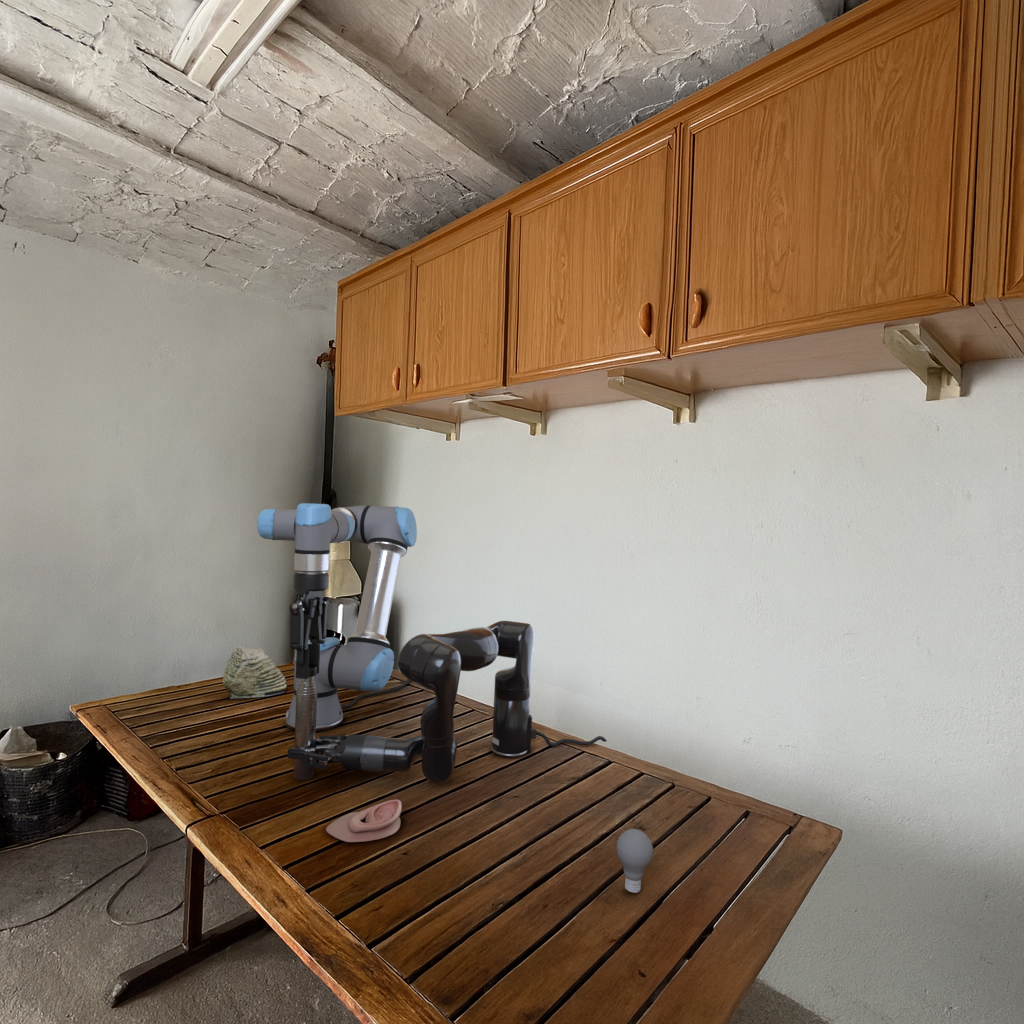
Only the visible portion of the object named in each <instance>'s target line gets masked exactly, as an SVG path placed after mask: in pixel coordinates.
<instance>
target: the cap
mask: <svg viewBox="0 0 1024 1024" xmlns="http://www.w3.org/2000/svg"><path fill="white" fill-rule="evenodd" d="M316 675H317V665H314V664H309V676H308V677H313V676H316Z"/></svg>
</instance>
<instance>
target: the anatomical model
mask: <svg viewBox="0 0 1024 1024" xmlns="http://www.w3.org/2000/svg"><path fill="white" fill-rule="evenodd" d="M402 808H403V804H402V802H401V800H399V799H391V800H387V801H383V802H380V803H377V804H374V805H372V806H370V807H367V808H365V809H362V810H360V811H353V812H350V813H347V814H344V815H342V816H340V817H338V818H337V819H335V820H333V821H332V822H330V823H329V825H327V826H326V828H325V832H326V833H327V834H329V835H330V836H332V837H333V838H335V839H338V840H340V841H342V842H345V843H360V842H361V843H363V842H371V841H375V840H381V839H384V838H387V837H389V836H392V835H394V834H395V833H397V832H398V831H399V829H400V827H401V824H402V823H401V817H400V816H401V813H402Z"/></svg>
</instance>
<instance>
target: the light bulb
mask: <svg viewBox="0 0 1024 1024" xmlns="http://www.w3.org/2000/svg"><path fill="white" fill-rule="evenodd" d="M615 849H616V854H617V857H618V859H619V861H620V863H621V865H622V867H623V873H624V874H623V875H624V876H625V878H624V888H625V890H627V891H628V892H630V893H634V894H635V893H639V892H640V891H641V889H642V887H641V886H642V879H643V877H644V875H645V871H646V868H647V867H648V866H649V864H650V863H651V861H652V859H653V855H654V847H653V843H652V841H651V838H649V836H648V835H647V834H646V833H645V832H643V831H642V830H641V829H636V828H629V829H627V830H625V831H623V832H622V833H621V834H620V835H619V837H618V839H617V841H616V847H615Z"/></svg>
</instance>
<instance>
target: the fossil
mask: <svg viewBox="0 0 1024 1024" xmlns="http://www.w3.org/2000/svg"><path fill="white" fill-rule="evenodd" d="M222 676H223V677H222V685H223V687H224V688H225V690H226V691H228V693H229V698H230V699H250V698H264V697H271V696H275V695H281V694H284V693H285V691H286V689H287V687H288V686H287V680H286V678H285V676H284V674H283V673H282V672H281V669H279V668H278V667H277V665H276V663H275V662H274V660H273V659H272V658H271V657H270V656H269V655H268V654H267V653H266V652H265V650H264V649H263V648H260V647H258V648H251V647H247V646H246V647H245V646H238V647H237V648H236V649H235V650H233V651H232V653H231V656H230V657H229V659H228V660H227V663H226V666H225V668H224V671H223V675H222Z"/></svg>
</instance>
